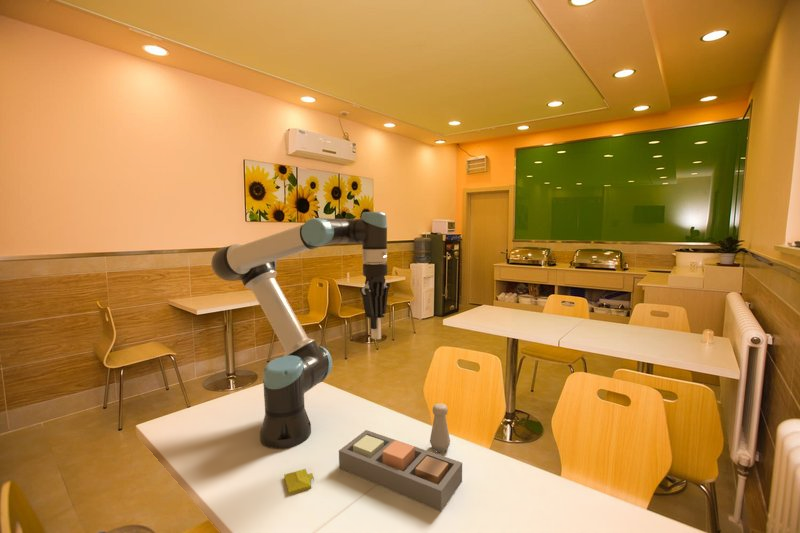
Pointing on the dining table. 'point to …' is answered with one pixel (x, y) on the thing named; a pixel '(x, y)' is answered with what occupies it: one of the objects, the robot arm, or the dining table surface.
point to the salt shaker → (440, 429)
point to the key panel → (402, 473)
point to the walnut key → (432, 470)
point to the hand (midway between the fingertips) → (376, 338)
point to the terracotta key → (398, 455)
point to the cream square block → (368, 446)
